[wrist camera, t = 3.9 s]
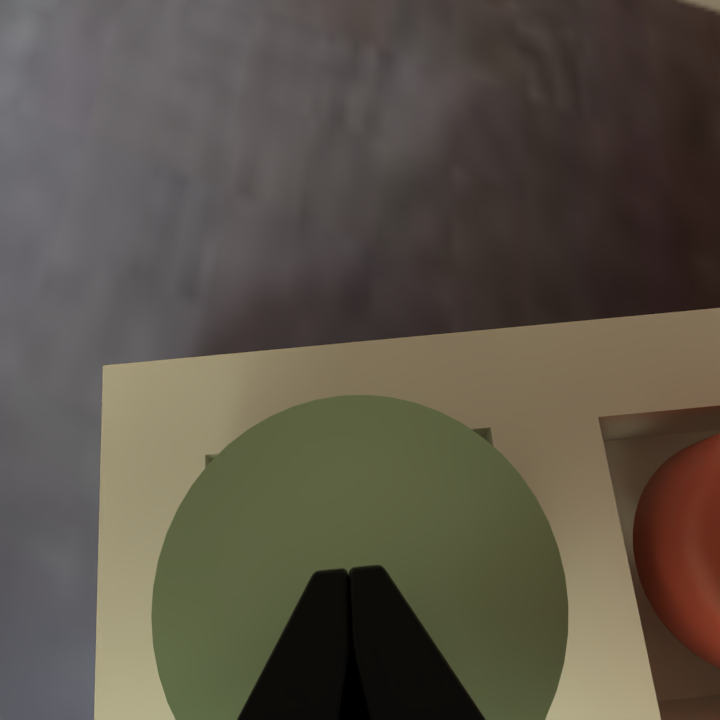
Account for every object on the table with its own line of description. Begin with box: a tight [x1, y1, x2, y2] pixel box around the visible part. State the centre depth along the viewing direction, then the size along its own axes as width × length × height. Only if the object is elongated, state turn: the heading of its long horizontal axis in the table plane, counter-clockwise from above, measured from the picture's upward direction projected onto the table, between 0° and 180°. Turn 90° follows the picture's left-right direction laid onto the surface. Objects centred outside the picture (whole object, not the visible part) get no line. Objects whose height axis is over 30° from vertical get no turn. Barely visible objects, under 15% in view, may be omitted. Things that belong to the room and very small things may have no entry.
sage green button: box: [151, 395, 568, 720], centre depth 13 cm, size 6×6×6 cm
